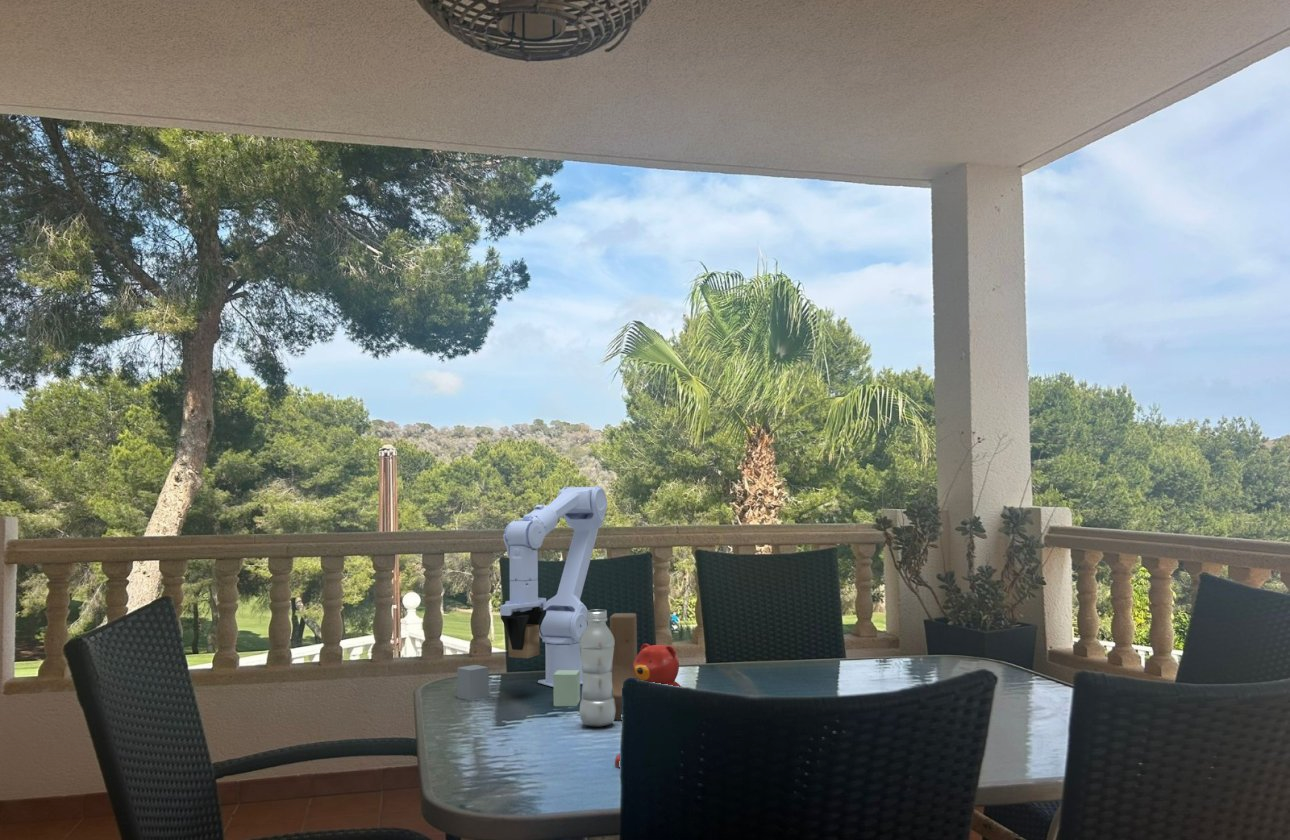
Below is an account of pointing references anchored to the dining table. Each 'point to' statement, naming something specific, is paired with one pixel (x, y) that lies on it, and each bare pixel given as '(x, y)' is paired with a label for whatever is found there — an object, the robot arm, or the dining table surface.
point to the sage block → (566, 687)
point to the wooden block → (623, 653)
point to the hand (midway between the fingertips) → (524, 647)
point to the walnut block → (527, 643)
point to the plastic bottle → (597, 671)
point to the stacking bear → (655, 667)
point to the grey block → (472, 682)
